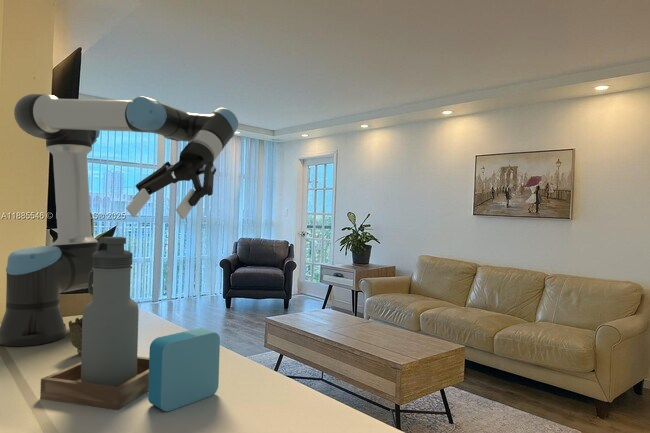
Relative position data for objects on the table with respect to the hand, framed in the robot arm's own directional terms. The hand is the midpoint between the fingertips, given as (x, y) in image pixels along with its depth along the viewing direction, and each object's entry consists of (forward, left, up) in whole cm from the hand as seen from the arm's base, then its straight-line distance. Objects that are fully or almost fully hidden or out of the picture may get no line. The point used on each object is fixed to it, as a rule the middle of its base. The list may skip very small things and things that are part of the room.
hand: (154, 213), depth 96 cm
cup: (-5, -20, -34) cm, 40 cm away
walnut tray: (+10, -2, -34) cm, 35 cm away
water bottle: (+10, -2, -33) cm, 35 cm away
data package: (+11, +15, -34) cm, 39 cm away
